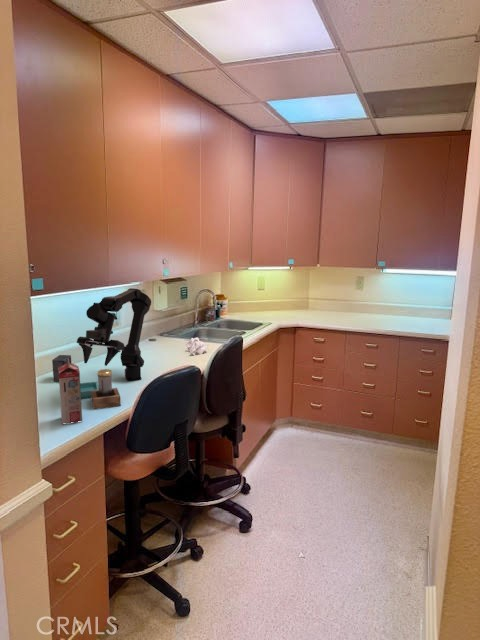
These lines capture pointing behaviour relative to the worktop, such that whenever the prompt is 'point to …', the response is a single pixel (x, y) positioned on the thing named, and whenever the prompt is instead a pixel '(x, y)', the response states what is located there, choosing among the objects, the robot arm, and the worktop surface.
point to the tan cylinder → (105, 383)
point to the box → (59, 365)
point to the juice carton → (70, 393)
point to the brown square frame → (105, 399)
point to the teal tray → (88, 389)
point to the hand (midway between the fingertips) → (95, 364)
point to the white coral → (195, 346)
